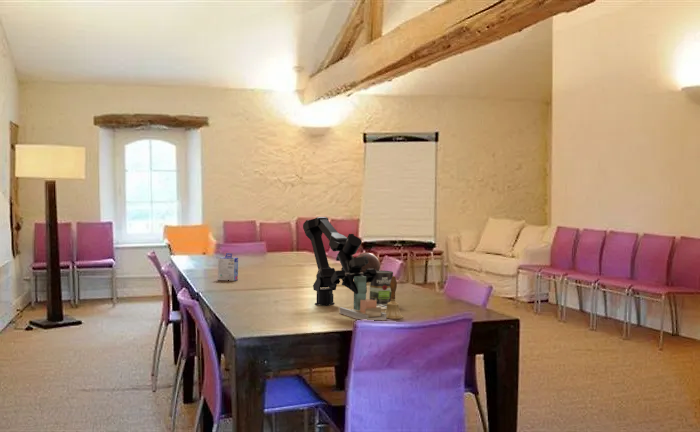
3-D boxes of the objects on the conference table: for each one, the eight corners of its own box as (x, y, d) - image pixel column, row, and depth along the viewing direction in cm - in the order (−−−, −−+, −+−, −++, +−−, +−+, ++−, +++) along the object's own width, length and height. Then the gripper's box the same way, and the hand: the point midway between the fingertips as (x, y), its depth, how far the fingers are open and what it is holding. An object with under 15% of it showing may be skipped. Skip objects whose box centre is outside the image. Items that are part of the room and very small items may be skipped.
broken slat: (365, 309, 275) (365, 306, 275) (378, 308, 278) (378, 305, 278) (375, 312, 268) (375, 309, 268) (388, 311, 272) (388, 308, 272)
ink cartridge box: (238, 279, 370) (238, 253, 369) (234, 281, 364) (234, 254, 364) (221, 279, 372) (221, 252, 372) (217, 280, 367) (217, 253, 366)
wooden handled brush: (401, 315, 269) (402, 275, 269) (404, 319, 261) (404, 277, 260) (381, 315, 269) (381, 274, 268) (382, 318, 261) (383, 277, 260)
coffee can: (395, 305, 293) (396, 272, 292) (373, 306, 290) (373, 273, 289) (388, 301, 303) (388, 270, 302) (366, 302, 300) (366, 270, 299)
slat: (350, 312, 266) (350, 276, 266) (364, 311, 270) (364, 275, 269) (366, 317, 256) (367, 279, 255) (380, 316, 259) (381, 279, 259)
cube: (360, 311, 262) (360, 299, 262) (370, 310, 264) (370, 299, 264) (366, 313, 258) (366, 301, 258) (376, 312, 260) (376, 300, 260)
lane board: (339, 313, 271) (339, 307, 271) (379, 309, 281) (379, 303, 281) (366, 322, 254) (366, 315, 254) (407, 317, 263) (407, 311, 263)
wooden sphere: (382, 281, 373) (382, 253, 372) (355, 281, 371) (355, 253, 370) (377, 277, 388) (377, 251, 387) (351, 277, 386) (351, 251, 385)
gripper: (334, 250, 264) (348, 281, 255) (375, 248, 274) (389, 279, 265) (325, 268, 271) (338, 299, 262) (364, 266, 281) (378, 296, 272)
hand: (361, 293), depth 265 cm, fingers closed on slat, 3 cm apart
